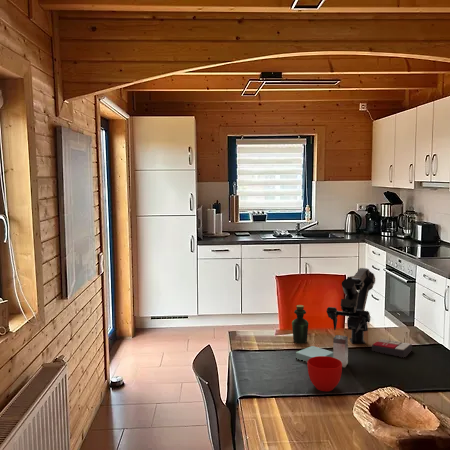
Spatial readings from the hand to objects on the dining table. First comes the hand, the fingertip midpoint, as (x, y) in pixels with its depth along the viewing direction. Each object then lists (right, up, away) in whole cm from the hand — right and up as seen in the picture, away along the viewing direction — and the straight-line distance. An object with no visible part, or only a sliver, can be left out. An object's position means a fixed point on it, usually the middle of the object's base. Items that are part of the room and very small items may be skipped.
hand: (345, 331), depth 209 cm
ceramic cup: (-14, -15, -27) cm, 34 cm away
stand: (-13, -13, +1) cm, 18 cm away
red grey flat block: (+24, -12, +9) cm, 29 cm away
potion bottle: (-16, -11, +24) cm, 31 cm away
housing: (-3, -13, -6) cm, 15 cm away
